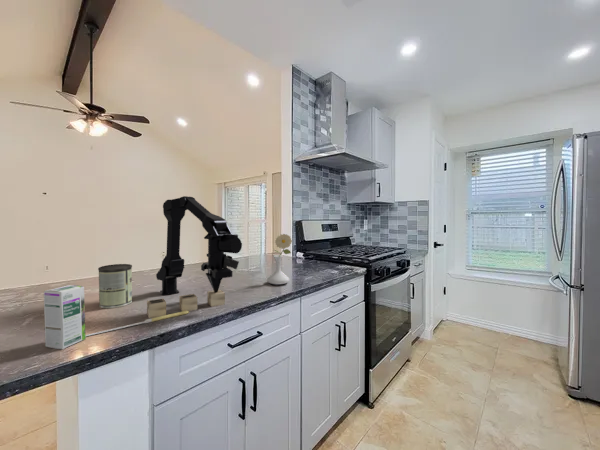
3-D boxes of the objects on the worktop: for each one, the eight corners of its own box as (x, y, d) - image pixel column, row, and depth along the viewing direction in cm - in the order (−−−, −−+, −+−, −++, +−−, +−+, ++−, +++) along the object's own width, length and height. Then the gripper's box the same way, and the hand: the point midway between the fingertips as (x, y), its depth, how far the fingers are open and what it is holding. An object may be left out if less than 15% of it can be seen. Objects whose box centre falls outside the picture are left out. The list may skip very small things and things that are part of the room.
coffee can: (96, 303, 99) (96, 266, 98) (128, 297, 106) (128, 262, 106) (101, 310, 92) (100, 270, 91) (135, 304, 99) (135, 266, 98)
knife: (59, 337, 71) (59, 340, 68) (185, 309, 94) (190, 310, 90) (59, 342, 71) (59, 345, 68) (185, 312, 93) (190, 314, 90)
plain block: (207, 303, 101) (207, 291, 101) (220, 300, 104) (220, 289, 104) (211, 307, 97) (211, 294, 97) (224, 304, 100) (224, 292, 100)
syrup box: (62, 350, 65) (61, 291, 64) (44, 347, 66) (43, 289, 66) (85, 339, 71) (85, 285, 70) (68, 337, 72) (67, 284, 71)
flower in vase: (262, 284, 129) (262, 233, 129) (273, 279, 140) (273, 232, 139) (286, 287, 124) (287, 234, 124) (296, 282, 135) (296, 233, 134)
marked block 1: (147, 313, 90) (147, 300, 89) (163, 311, 93) (163, 297, 92) (149, 318, 86) (149, 304, 85) (166, 315, 89) (166, 301, 88)
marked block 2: (179, 308, 96) (179, 295, 95) (193, 305, 98) (193, 293, 98) (182, 312, 91) (182, 299, 91) (197, 309, 94) (197, 296, 94)
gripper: (246, 252, 97) (245, 294, 98) (227, 247, 112) (227, 284, 113) (215, 255, 91) (215, 300, 91) (200, 249, 106) (200, 287, 106)
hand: (215, 292), depth 100 cm, fingers closed, pressing on plain block
